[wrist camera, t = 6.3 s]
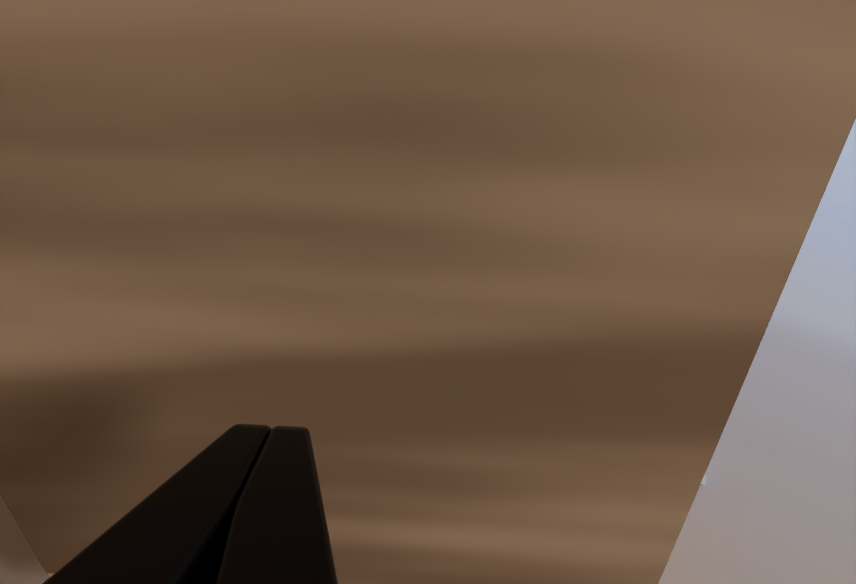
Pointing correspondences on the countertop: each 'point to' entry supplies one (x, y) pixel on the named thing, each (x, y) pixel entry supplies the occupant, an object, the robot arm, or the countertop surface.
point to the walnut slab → (405, 259)
